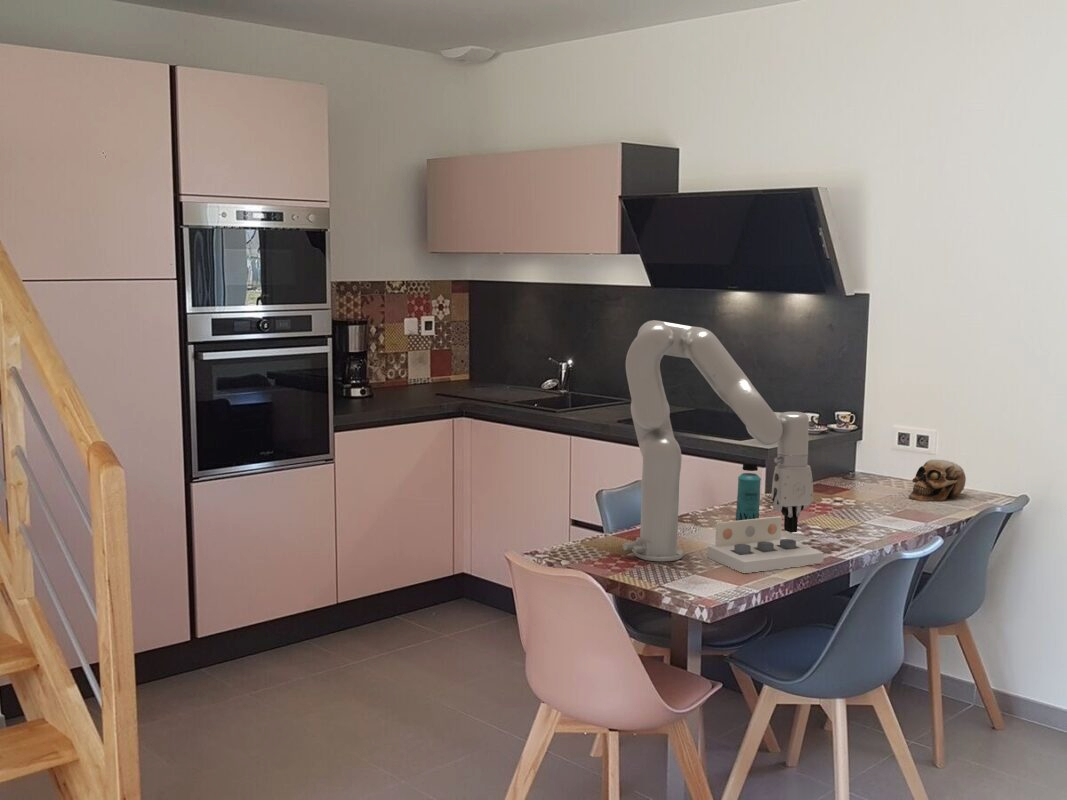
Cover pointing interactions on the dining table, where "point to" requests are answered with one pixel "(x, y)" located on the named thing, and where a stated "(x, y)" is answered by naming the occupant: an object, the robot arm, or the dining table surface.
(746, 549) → the button left
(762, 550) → the button middle
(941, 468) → the brown skull
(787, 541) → the button right
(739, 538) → the button panel
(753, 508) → the beverage bottle
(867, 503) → the dining table surface
